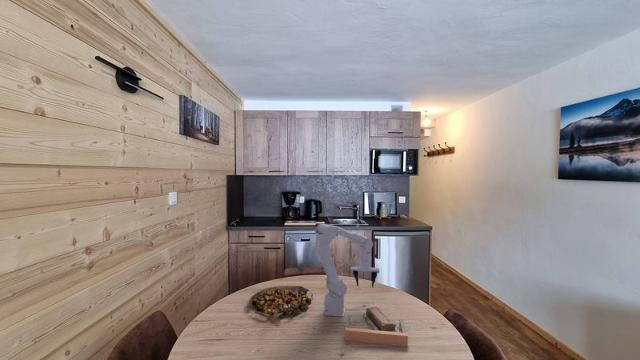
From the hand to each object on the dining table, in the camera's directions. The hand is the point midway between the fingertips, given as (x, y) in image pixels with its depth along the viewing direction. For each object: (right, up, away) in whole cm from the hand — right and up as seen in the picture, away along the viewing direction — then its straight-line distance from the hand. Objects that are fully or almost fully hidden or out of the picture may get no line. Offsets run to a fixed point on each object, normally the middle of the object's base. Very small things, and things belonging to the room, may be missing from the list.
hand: (365, 285), depth 141 cm
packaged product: (+3, -10, -20) cm, 23 cm away
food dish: (-43, -10, +1) cm, 44 cm away
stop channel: (0, -9, -25) cm, 27 cm away
